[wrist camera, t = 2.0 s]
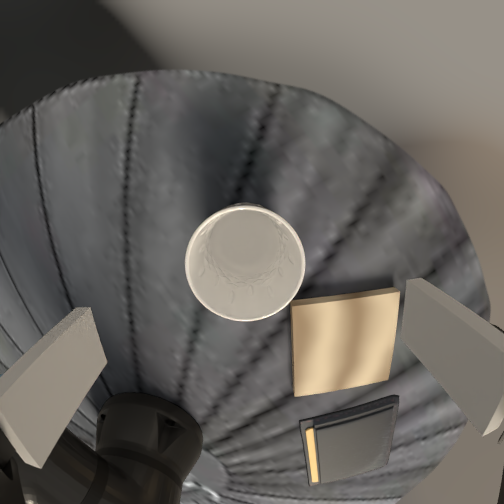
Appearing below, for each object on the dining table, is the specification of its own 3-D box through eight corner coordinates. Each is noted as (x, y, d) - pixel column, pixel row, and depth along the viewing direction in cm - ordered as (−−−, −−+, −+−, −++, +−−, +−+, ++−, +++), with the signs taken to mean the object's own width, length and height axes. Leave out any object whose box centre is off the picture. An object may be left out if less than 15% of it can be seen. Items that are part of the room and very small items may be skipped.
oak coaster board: (292, 389, 34) (294, 396, 32) (289, 300, 31) (291, 306, 30) (383, 372, 34) (388, 379, 32) (394, 287, 31) (399, 291, 30)
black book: (388, 470, 38) (306, 491, 39) (385, 463, 40) (304, 484, 41) (406, 396, 34) (300, 424, 34) (401, 388, 36) (298, 414, 36)
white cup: (192, 214, 29) (166, 232, 19) (269, 184, 28) (282, 187, 18) (222, 287, 30) (213, 335, 21) (296, 260, 30) (319, 298, 20)
